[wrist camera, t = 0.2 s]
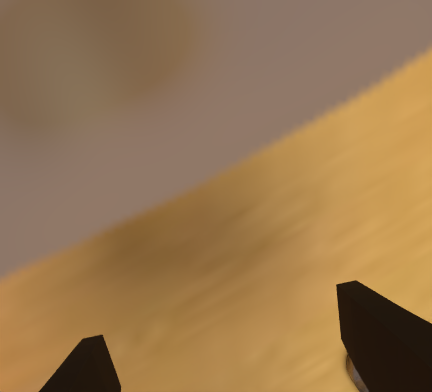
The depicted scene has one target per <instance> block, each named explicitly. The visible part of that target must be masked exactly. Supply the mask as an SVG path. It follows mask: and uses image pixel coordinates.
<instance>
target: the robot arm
mask: <svg viewBox="0 0 432 392" xmlns="http://www.w3.org/2000/svg"><path fill="white" fill-rule="evenodd" d="M336 287H337V298H338V309H339V320H340V331H341V339H342V341H343V344H344V346H345V348H346V350H347V352H348V355H349V357H350V359H351V361H352V363H353V365H354V367H355V369H356V371H357V372H358V374H359V376H360V377H361V379H362V381H363V382H364V384H365V386H366V387H367V389H368V390H369V392H432V324H431V323H429V322H428V321H426V320H424V319H422V318H420V317H418V316H416V315H414V314H413V313H411V312H409V311H407V310H406V309H404V308H402V307H400V306H399V305H397V304H395V303H393V302H392V301H390V300H388V299H387V298H385V297H383V296H381V295H380V294H378V293H376V292H375V291H373V290H371V289H370V288H368V287H366V286H365V285H363V284H361V283H360V282H358V281H356V280H355V281H351V282H346V283H341V284H337V285H336ZM39 392H121V385H120V382H119V379H118V376H117V374H116V371H115V368H114V365H113V362H112V360H111V357H110V354H109V351H108V348H107V346H106V343H105V340H104V337H103V335H98V336H94V337H89V338H84V339H82V340H81V341H80V342H79V344H78V345H77V346H76V347H75V348H74V350H73V351H72V352H71V353H70V354H69V356H68V357H67V358H66V359H65V361H64V362H63V363H62V364H61V366H60V367H59V368H58V369H57V370H56V372H55V373H54V374H53V375H52V377H51V378H50V379H49V380H48V381H47V383H46V384H45V385H44V386H43V387H42V389H41V390H40V391H39Z"/></svg>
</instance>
